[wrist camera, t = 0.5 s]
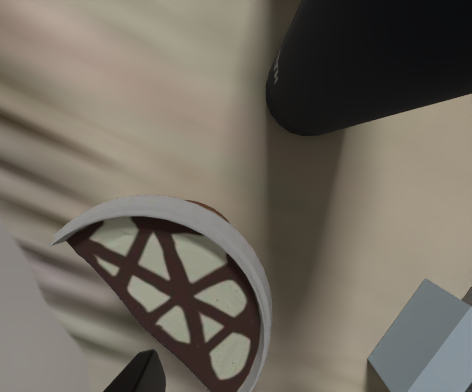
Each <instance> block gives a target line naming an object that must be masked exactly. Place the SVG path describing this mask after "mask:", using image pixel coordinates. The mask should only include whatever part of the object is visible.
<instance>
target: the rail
mask: <svg viewBox="0 0 472 392" xmlns="http://www.w3.org/2000/svg"><path fill="white" fill-rule="evenodd" d="M462 301H463V302H465V303H467V304H468V305H470V306H472V287H471V289H470V290H469V291H468V293H467V294H466V295H465V297H464V298H463V299H462Z"/></svg>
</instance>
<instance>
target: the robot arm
mask: <svg viewBox="0 0 472 392" xmlns="http://www.w3.org/2000/svg"><path fill="white" fill-rule="evenodd" d="M165 387H166V379H165V373H164V371H163V368H162V365H161V362H160V359H159V357H158V354H157V352H156V351H155V350H153V349H151V350H147V351H143V352H140V353H138V354H137V355H136V356H135V357H134V358H133V360H132V361H131V362H130V363H129V364H128V365H127V366H126V367H125V368H124V369H123V370H122V372H121V373H120V374H119V375H118V376H117V377H116V378H115V379H114V380H113V381H112V383H111V384H110V385H109V386H108V387H107V388H106V389H105V390H104V391H103V392H165Z"/></svg>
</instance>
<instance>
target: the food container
mask: <svg viewBox="0 0 472 392" xmlns="http://www.w3.org/2000/svg"><path fill="white" fill-rule="evenodd" d="M54 237H55V238H56V240H54V241H53V242H52V243H50V244H49V245H50V246H52V245H55V244H58V243H61V242H65V241H67V242H68V244H69V245H70V246H71V247H72V248H73V249H74V250H75V252H76V253H77V254H78V255H79V256H81V257H82V258H83V259H84V260H86V261H87V262H88V263H89V264H90V265H91V266H92V267H93V268H94V269H95V270H96V272H97V273H98V274H99V275H100V276H101V277H102V278H103V279H104V280H105V281H106V282H107V283H108V285H109V286H110V287H111V288H112V289H113V290H114V292H115V293H116V294H117V295H118V296H119V298H120V299H121V300H122V301H123V303H124V304H125V305H126V307H127V308H128V309H129V310H130V312H131V313H132V314H133V315H134V316H135V318H136V319H137V320H138V321H139V322H140V324H141V325H142V326H143V327H144V328H145V329H146V331H148V332H149V333H150V334H151V335H152V336H153V337H154V338H155V339H156V340H157V341H159V342H160V343H161V344H162V345H163V346H164V347H166V348H167V349H168V350H169V351H170V352H172V353H173V354H174V355H175V356H176V357H177V358H178V359H180V360H181V361H182V362H183V363H184V364H185V365H186V366H187V367H188V368H189V369H190V370H191V371H192V372H193V373H194V374H195V375H196V376H197V377H198V378H199V379H200V381H201V382H202V383H203V384H204V385H205V386H206V387H207V388H208V389H209V390H210V391H211V392H252V390H253V388H254V386H255V385H256V383H257V380H258V378H259V376H260V375H261V372H262V369H263V366H264V364H265V361H266V358H267V354H268V348H269V343H270V337H271V328H272V298H271V291H270V286H269V283H268V280H267V277H266V274H265V271H264V268H263V266H262V264H261V262H260V260H259V259H258V257H257V255H256V253H255V251H254V250H253V249H252V247H251V246H250V245H249V243H248V242H247V241H246V239H245V238H244V237H243V236H242V235H241V234H240V233H239V232H238V231H237V230H236V229H235V228H234V227H233V226H232V225H231V224H230V223H229V222H228V220H227V219H226V218H225V217H224V216H223V215H221V214H220V213H219V212H217V211H216V210H215V209H213V208H211V207H209V206H207V205H205V204H202V203H199V202H195V201H189V200H182V199H178V198H173V197H166V196H159V195H136V196H130V197H123V198H117V199H114V200H111V201H108V202H105V203H102V204H99V205H97V206H95V207H93V208H91V209H89V210H87V211H85V212H83V213H81V214H80V215H78V216H77V217H76V218H74V219H73V220H72V221H70V222H69V223H68V224H66V225H65V226H64V227H63V228H62V229H61V230H60V231H58V232H57V233H56V234H55V235H54Z"/></svg>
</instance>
